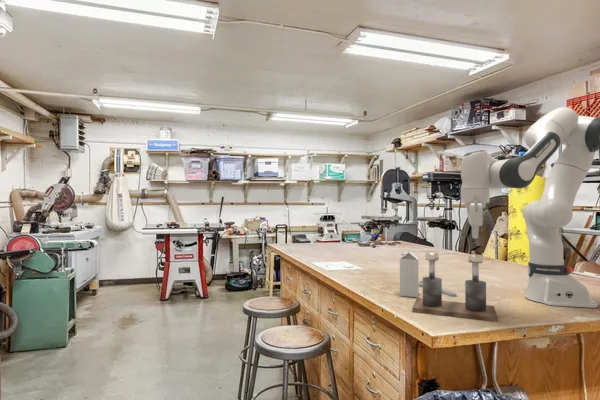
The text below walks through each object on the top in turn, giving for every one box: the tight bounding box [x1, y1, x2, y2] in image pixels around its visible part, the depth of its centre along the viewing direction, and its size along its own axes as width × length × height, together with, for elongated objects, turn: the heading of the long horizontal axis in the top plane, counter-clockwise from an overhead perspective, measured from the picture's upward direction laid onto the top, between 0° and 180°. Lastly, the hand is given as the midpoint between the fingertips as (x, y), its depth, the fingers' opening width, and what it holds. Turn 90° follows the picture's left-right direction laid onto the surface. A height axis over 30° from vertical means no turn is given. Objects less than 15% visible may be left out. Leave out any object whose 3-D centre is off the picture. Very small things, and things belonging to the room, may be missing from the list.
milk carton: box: [399, 247, 419, 298], centre depth 148 cm, size 7×7×19 cm
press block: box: [411, 276, 499, 323], centre depth 126 cm, size 26×14×11 cm, turn 66°
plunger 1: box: [424, 251, 440, 278], centre depth 129 cm, size 4×4×9 cm
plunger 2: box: [467, 253, 484, 282], centre depth 123 cm, size 4×4×9 cm
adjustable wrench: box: [418, 280, 458, 298], centre depth 157 cm, size 25×6×2 cm, turn 11°
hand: (475, 238), depth 123 cm, fingers closed
